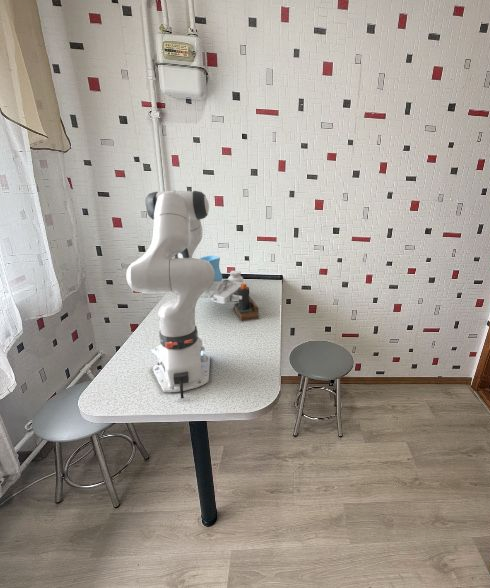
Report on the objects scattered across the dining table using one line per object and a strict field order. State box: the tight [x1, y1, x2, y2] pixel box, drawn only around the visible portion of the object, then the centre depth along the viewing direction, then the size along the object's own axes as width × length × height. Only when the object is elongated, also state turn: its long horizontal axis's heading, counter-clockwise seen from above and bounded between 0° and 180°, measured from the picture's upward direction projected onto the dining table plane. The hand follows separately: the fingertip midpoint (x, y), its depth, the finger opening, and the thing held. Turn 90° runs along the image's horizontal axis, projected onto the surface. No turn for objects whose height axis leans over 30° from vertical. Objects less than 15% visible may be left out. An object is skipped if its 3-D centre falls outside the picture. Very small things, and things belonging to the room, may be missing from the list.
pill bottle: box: [227, 270, 244, 302], centre depth 173 cm, size 8×8×15 cm
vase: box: [199, 254, 223, 281], centre depth 178 cm, size 8×8×20 cm
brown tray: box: [233, 295, 259, 322], centre depth 158 cm, size 14×8×6 cm, turn 26°
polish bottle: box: [238, 282, 250, 310], centre depth 156 cm, size 5×5×12 cm
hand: (245, 294), depth 155 cm, fingers open, 5 cm apart
